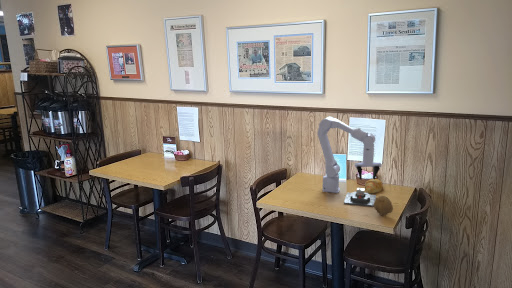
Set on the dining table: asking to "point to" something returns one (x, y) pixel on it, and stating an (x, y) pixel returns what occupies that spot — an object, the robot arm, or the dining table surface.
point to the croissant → (373, 186)
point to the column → (360, 192)
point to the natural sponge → (383, 205)
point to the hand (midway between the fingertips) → (367, 178)
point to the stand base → (360, 199)
